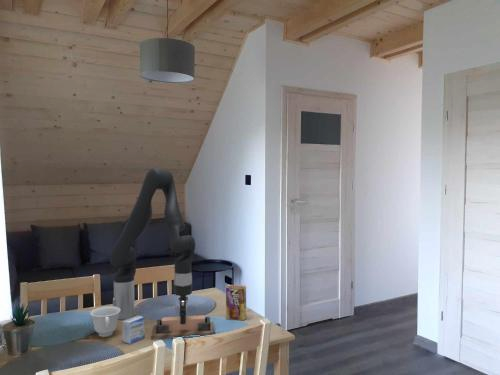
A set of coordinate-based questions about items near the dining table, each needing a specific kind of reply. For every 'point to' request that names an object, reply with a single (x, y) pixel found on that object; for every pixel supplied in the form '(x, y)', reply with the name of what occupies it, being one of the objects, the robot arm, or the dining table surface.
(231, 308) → the candy box
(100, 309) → the teacup
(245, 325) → the dining table surface
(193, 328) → the slat
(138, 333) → the medicine box
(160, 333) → the board
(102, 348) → the dining table surface
